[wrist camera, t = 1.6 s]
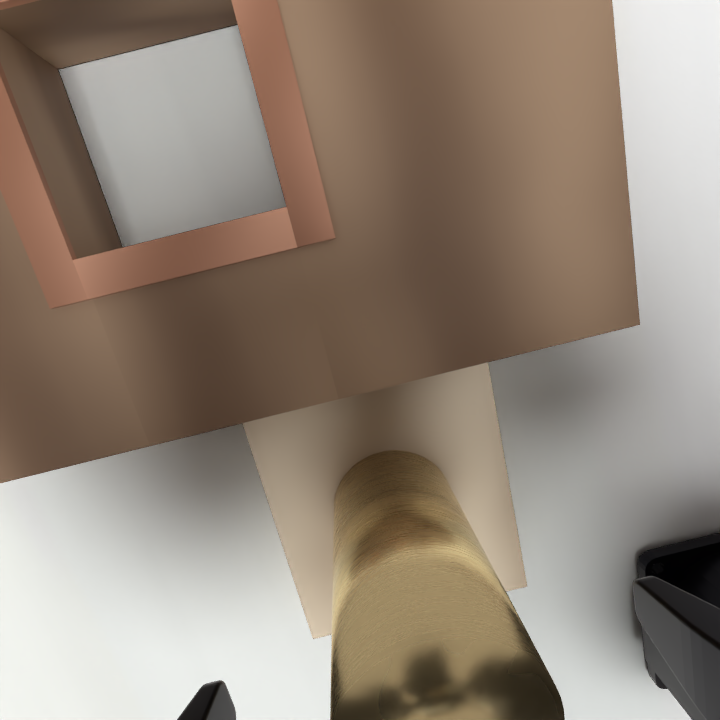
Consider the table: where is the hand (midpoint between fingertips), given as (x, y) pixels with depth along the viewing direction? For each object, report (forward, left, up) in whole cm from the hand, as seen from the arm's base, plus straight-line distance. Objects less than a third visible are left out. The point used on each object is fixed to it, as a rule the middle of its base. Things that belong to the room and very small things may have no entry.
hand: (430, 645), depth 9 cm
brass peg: (0, 0, -5) cm, 5 cm away
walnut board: (+2, -7, -6) cm, 10 cm away
